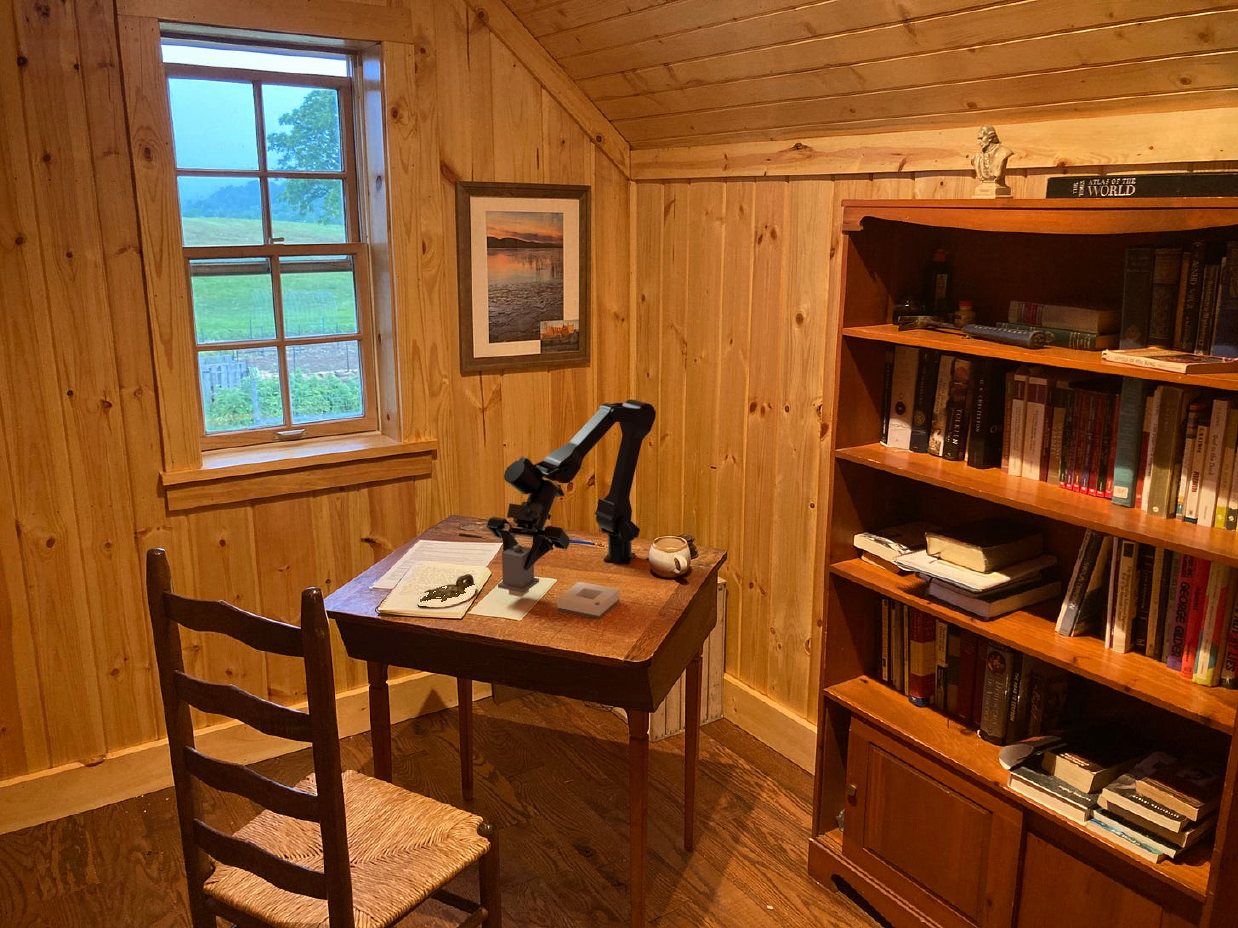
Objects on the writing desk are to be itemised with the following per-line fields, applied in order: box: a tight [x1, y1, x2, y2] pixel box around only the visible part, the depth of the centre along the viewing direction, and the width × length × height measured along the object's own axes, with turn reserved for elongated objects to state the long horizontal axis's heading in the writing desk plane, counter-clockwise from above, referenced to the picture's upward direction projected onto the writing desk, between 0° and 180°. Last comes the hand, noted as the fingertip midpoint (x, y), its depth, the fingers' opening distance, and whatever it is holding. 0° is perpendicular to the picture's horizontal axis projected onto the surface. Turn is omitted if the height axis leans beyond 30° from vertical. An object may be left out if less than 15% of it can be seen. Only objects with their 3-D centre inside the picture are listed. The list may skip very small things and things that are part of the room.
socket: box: [556, 581, 620, 620], centre depth 215 cm, size 10×10×3 cm
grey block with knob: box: [497, 544, 540, 598], centre depth 217 cm, size 7×7×11 cm
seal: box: [420, 573, 476, 602], centre depth 219 cm, size 9×5×15 cm
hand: (514, 567), depth 215 cm, fingers closed on grey block with knob, 5 cm apart
